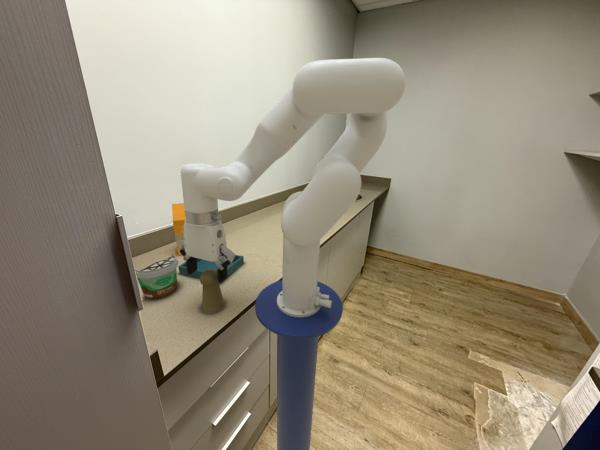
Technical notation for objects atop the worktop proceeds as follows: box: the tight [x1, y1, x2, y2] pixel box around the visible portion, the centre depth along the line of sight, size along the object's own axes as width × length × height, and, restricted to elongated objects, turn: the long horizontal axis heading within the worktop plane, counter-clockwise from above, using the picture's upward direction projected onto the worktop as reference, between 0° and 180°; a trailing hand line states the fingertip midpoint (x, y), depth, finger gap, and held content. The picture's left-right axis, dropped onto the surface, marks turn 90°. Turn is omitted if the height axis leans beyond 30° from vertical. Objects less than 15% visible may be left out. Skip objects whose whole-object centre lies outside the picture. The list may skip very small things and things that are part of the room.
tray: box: [177, 254, 245, 285], centre depth 87 cm, size 17×15×3 cm
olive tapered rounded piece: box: [199, 270, 225, 314], centre depth 67 cm, size 6×6×11 cm
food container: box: [134, 253, 179, 300], centre depth 72 cm, size 12×6×10 cm, turn 151°
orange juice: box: [171, 202, 186, 256], centre depth 97 cm, size 8×9×20 cm
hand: (207, 276), depth 65 cm, fingers open, 9 cm apart
